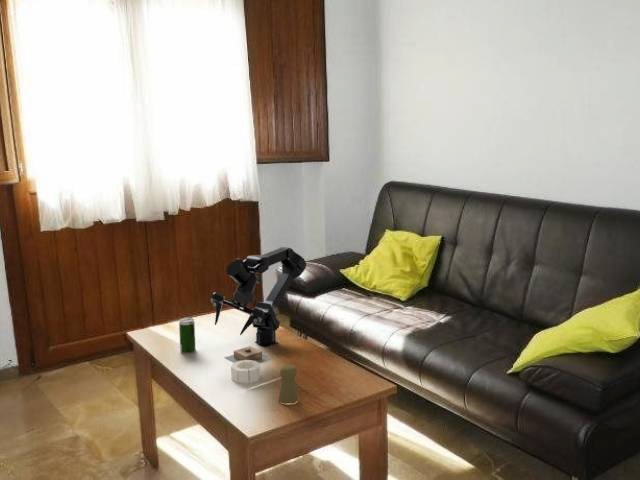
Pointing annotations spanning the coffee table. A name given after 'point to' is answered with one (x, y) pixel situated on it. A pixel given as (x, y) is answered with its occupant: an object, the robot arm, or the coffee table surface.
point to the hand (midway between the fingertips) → (227, 329)
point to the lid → (248, 354)
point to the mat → (264, 358)
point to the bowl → (245, 371)
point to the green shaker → (288, 384)
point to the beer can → (187, 335)
